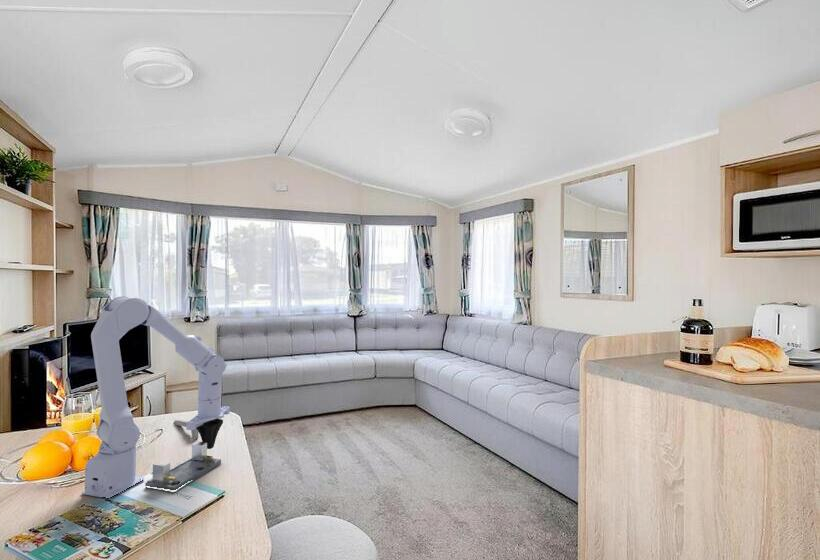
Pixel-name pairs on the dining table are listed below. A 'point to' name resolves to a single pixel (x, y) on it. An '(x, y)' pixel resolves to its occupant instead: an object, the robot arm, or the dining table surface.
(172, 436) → the dining table surface
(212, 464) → the gauge plate
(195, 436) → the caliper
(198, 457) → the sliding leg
